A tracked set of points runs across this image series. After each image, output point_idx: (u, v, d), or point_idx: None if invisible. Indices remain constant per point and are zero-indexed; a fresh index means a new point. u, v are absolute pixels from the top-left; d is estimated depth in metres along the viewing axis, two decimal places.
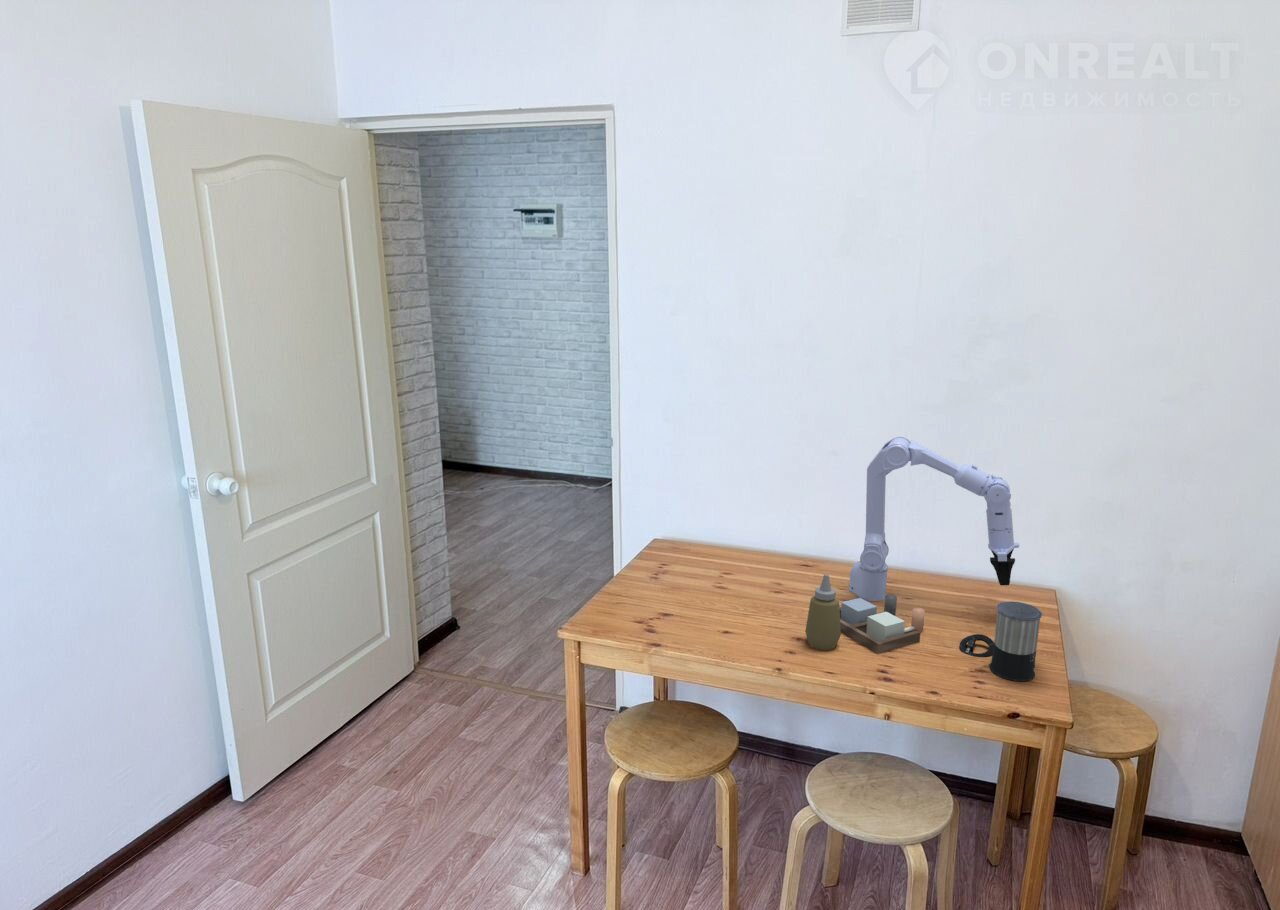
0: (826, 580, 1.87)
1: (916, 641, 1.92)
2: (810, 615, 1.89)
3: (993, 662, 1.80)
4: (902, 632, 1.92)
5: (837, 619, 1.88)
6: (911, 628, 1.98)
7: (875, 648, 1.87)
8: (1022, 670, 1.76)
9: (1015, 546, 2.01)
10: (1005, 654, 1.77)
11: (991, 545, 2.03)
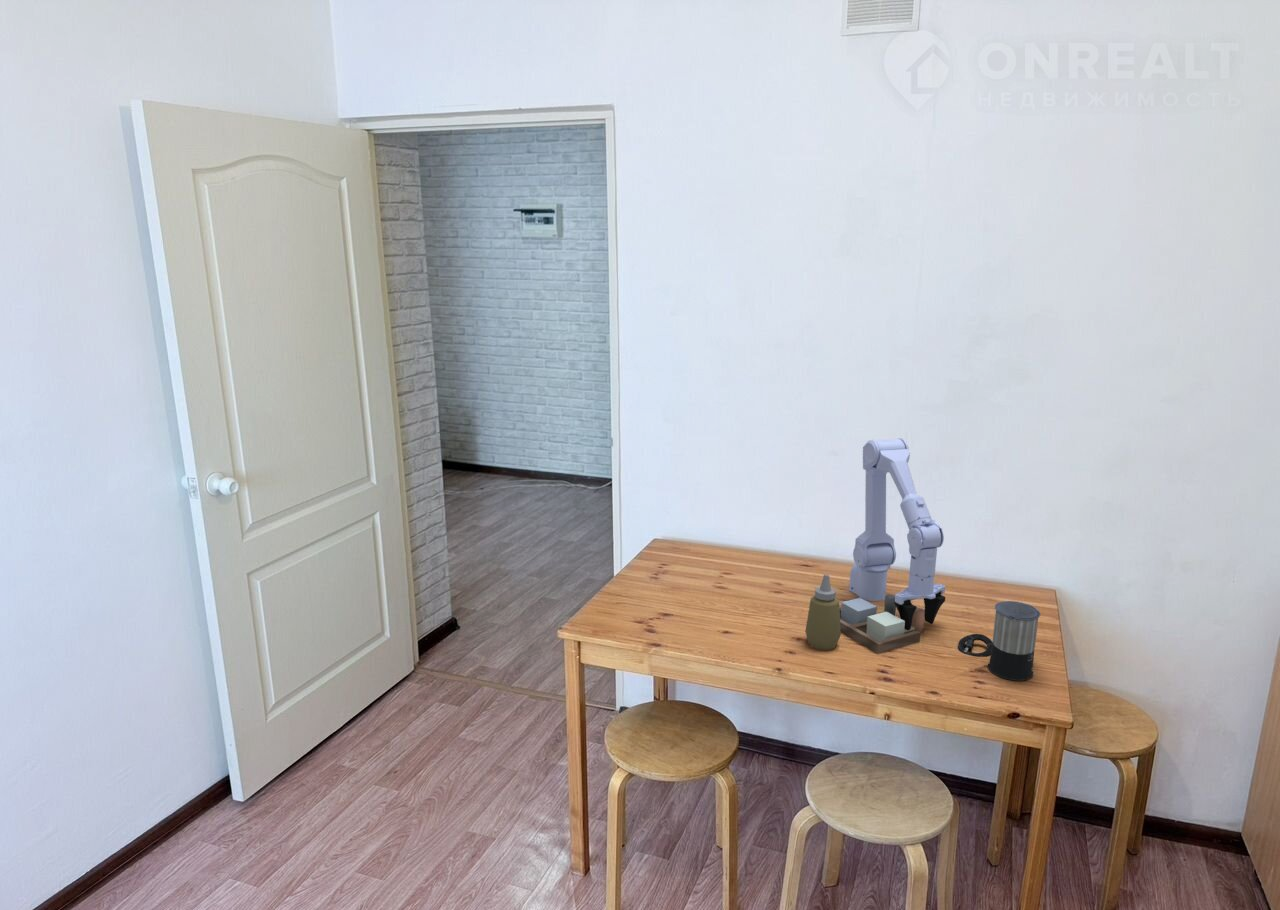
0: (826, 580, 1.87)
1: (916, 641, 1.92)
2: (810, 615, 1.89)
3: (991, 662, 1.81)
4: (902, 632, 1.92)
5: (837, 619, 1.88)
6: (911, 628, 1.98)
7: (875, 648, 1.87)
8: (1020, 670, 1.76)
9: (927, 596, 1.94)
10: (1003, 654, 1.77)
11: (908, 586, 1.98)
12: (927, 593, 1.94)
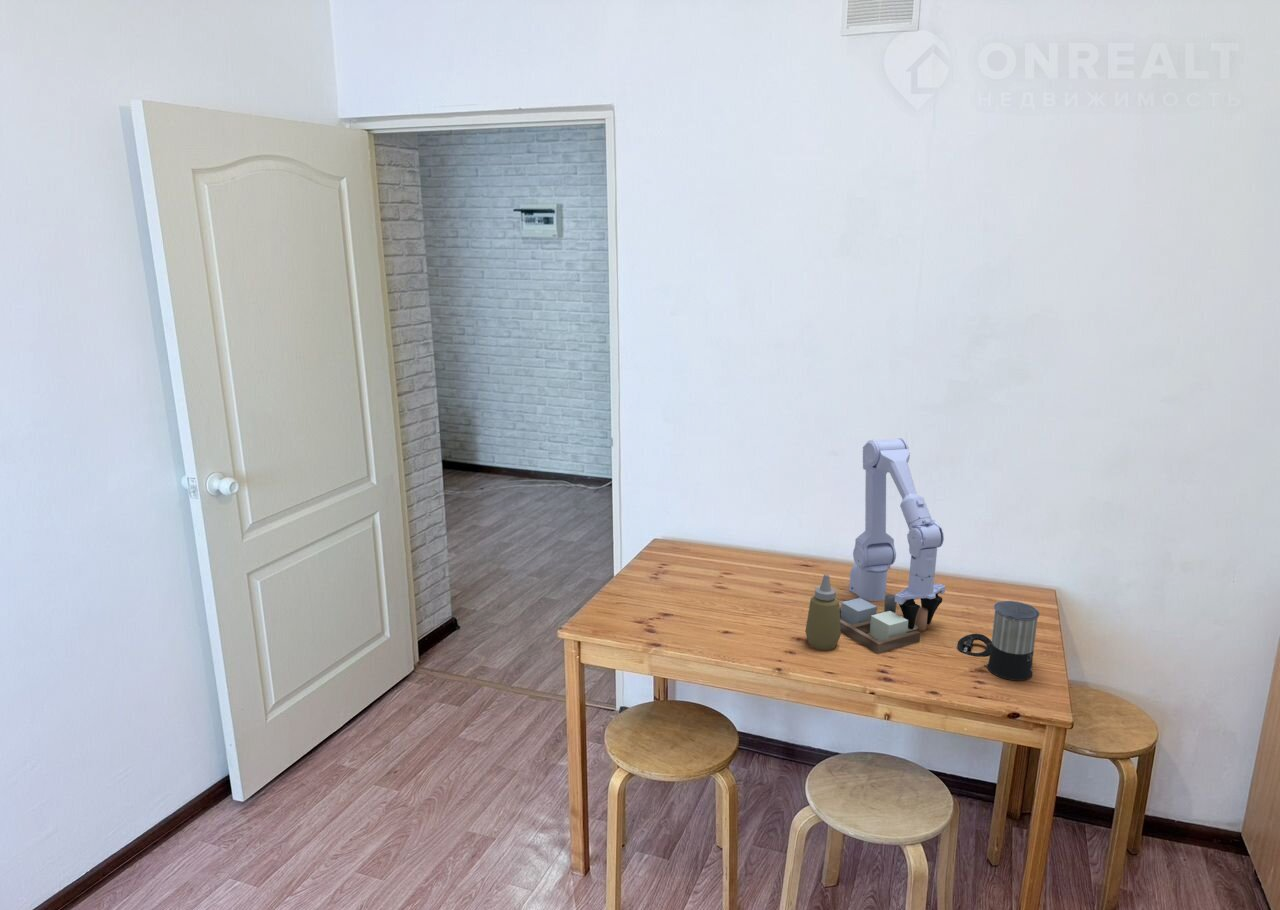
0: (826, 580, 1.87)
1: (916, 641, 1.92)
2: (810, 615, 1.89)
3: (990, 661, 1.81)
4: (905, 631, 1.93)
5: (837, 619, 1.88)
6: (914, 627, 1.98)
7: (875, 648, 1.87)
8: (1019, 670, 1.76)
9: (927, 596, 1.94)
10: (1002, 653, 1.77)
11: (908, 586, 1.98)
12: (927, 593, 1.94)
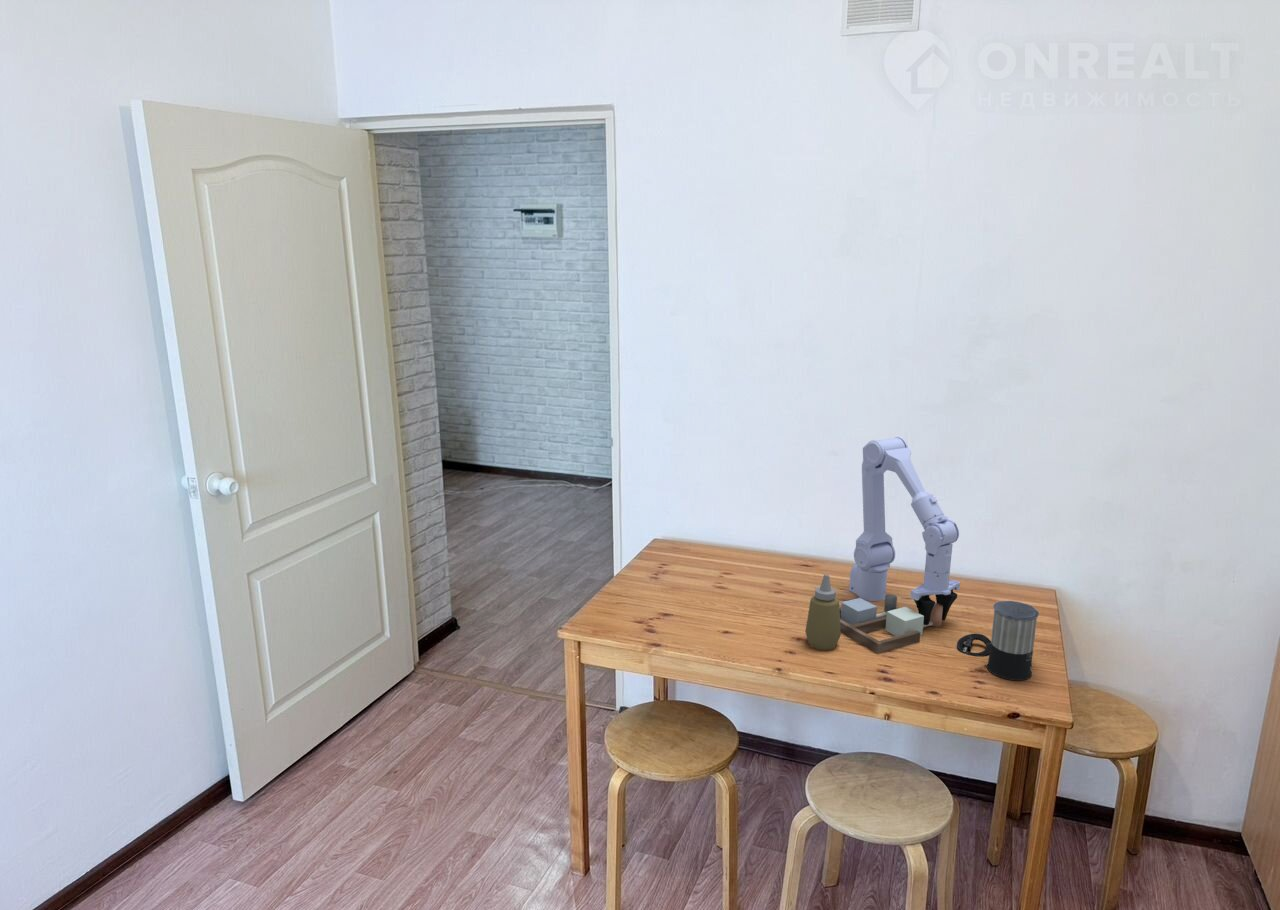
0: (826, 580, 1.87)
1: (916, 641, 1.92)
2: (810, 615, 1.89)
3: (990, 661, 1.81)
4: (921, 627, 1.95)
5: (837, 619, 1.88)
6: (929, 623, 2.00)
7: (875, 648, 1.87)
8: (1018, 670, 1.76)
9: (942, 592, 1.96)
10: (1002, 653, 1.77)
11: (923, 583, 2.00)
12: (942, 589, 1.96)
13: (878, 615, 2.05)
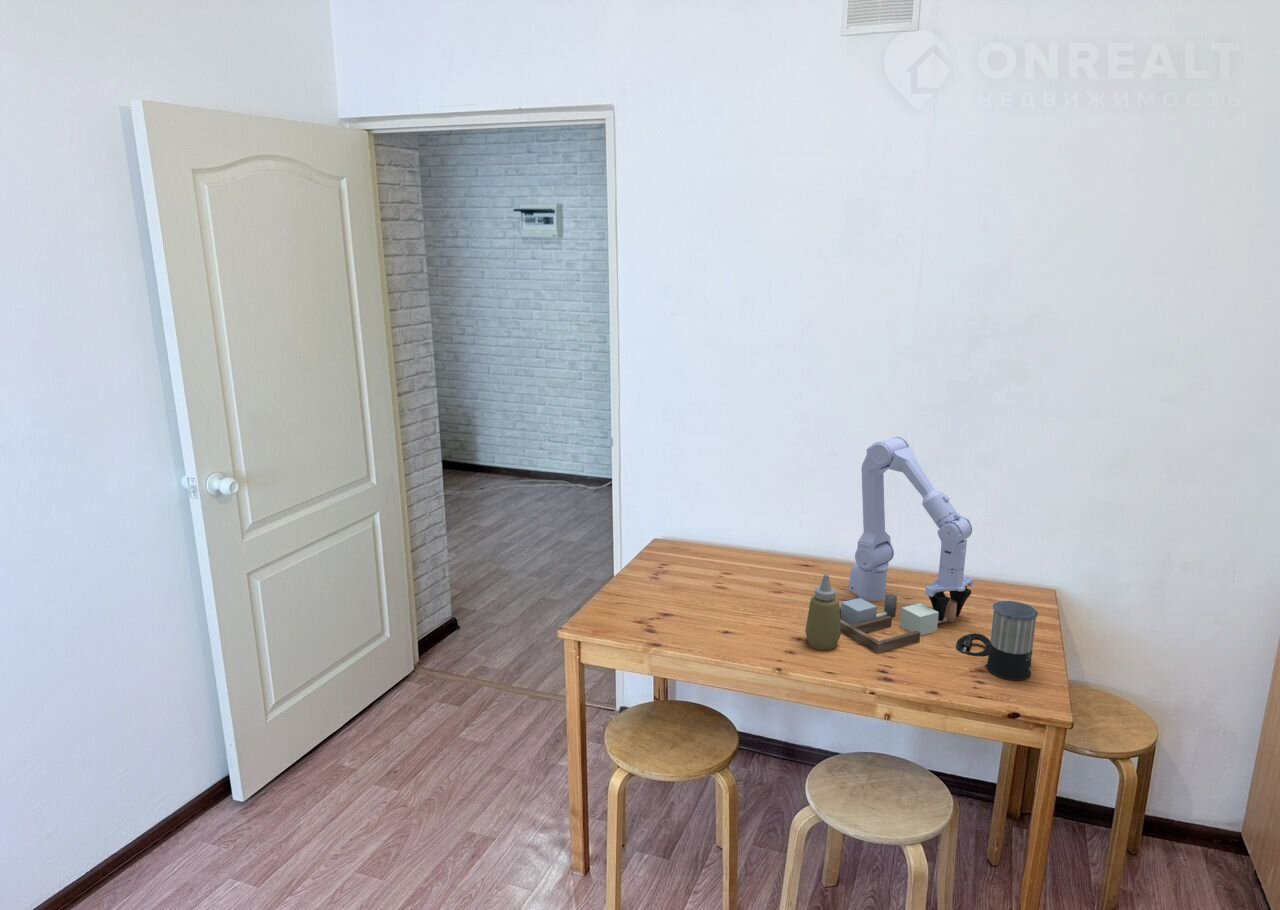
0: (826, 580, 1.87)
1: (916, 641, 1.92)
2: (810, 615, 1.89)
3: (989, 661, 1.81)
4: (936, 623, 1.97)
5: (837, 619, 1.88)
6: (944, 619, 2.02)
7: (875, 648, 1.87)
8: (1018, 669, 1.76)
9: (956, 589, 1.98)
10: (1001, 653, 1.77)
11: (938, 579, 2.02)
12: (957, 585, 1.98)
13: (878, 615, 2.05)
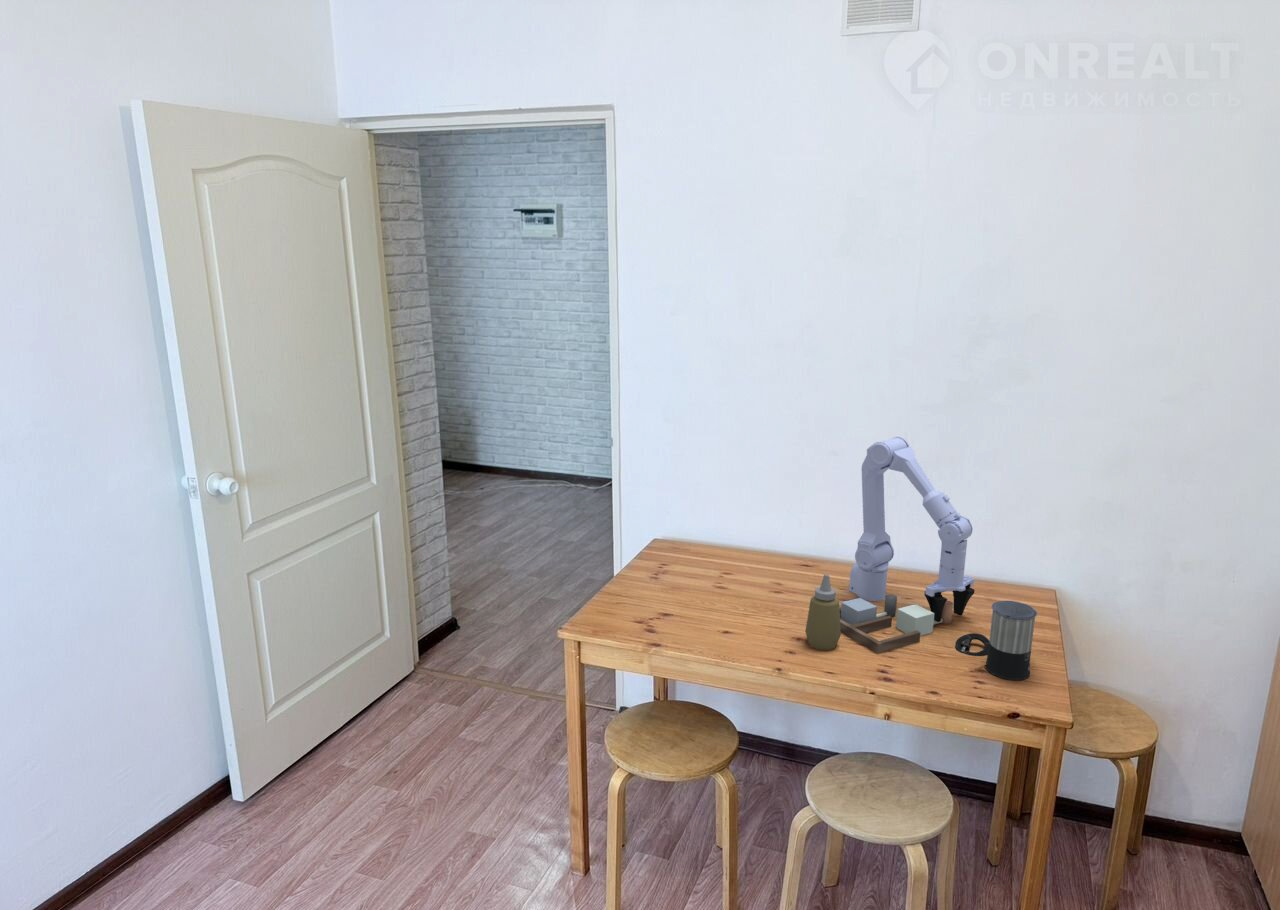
0: (826, 580, 1.87)
1: (916, 641, 1.92)
2: (810, 615, 1.89)
3: (988, 661, 1.81)
4: (931, 624, 1.97)
5: (837, 619, 1.88)
6: None
7: (875, 648, 1.87)
8: (1017, 669, 1.77)
9: (957, 589, 1.98)
10: (1000, 653, 1.77)
11: (938, 579, 2.02)
12: (957, 585, 1.98)
13: (878, 615, 2.05)
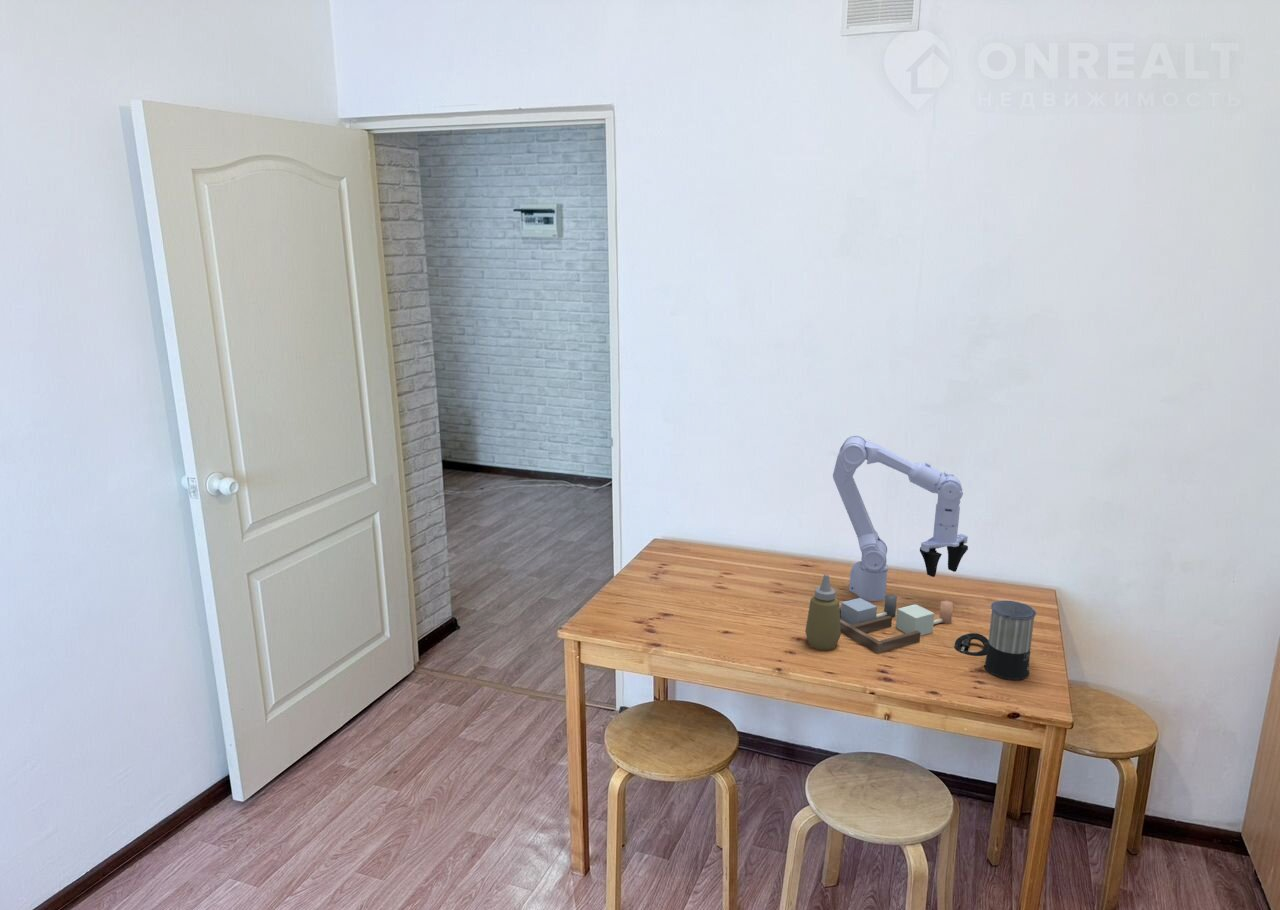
0: (826, 580, 1.87)
1: (916, 641, 1.92)
2: (810, 615, 1.89)
3: (987, 661, 1.81)
4: (931, 624, 1.97)
5: (837, 619, 1.88)
6: (939, 620, 2.02)
7: (875, 648, 1.87)
8: (1016, 669, 1.77)
9: (951, 544, 2.07)
10: (999, 653, 1.77)
11: (933, 536, 2.11)
12: (951, 541, 2.07)
13: (878, 615, 2.05)
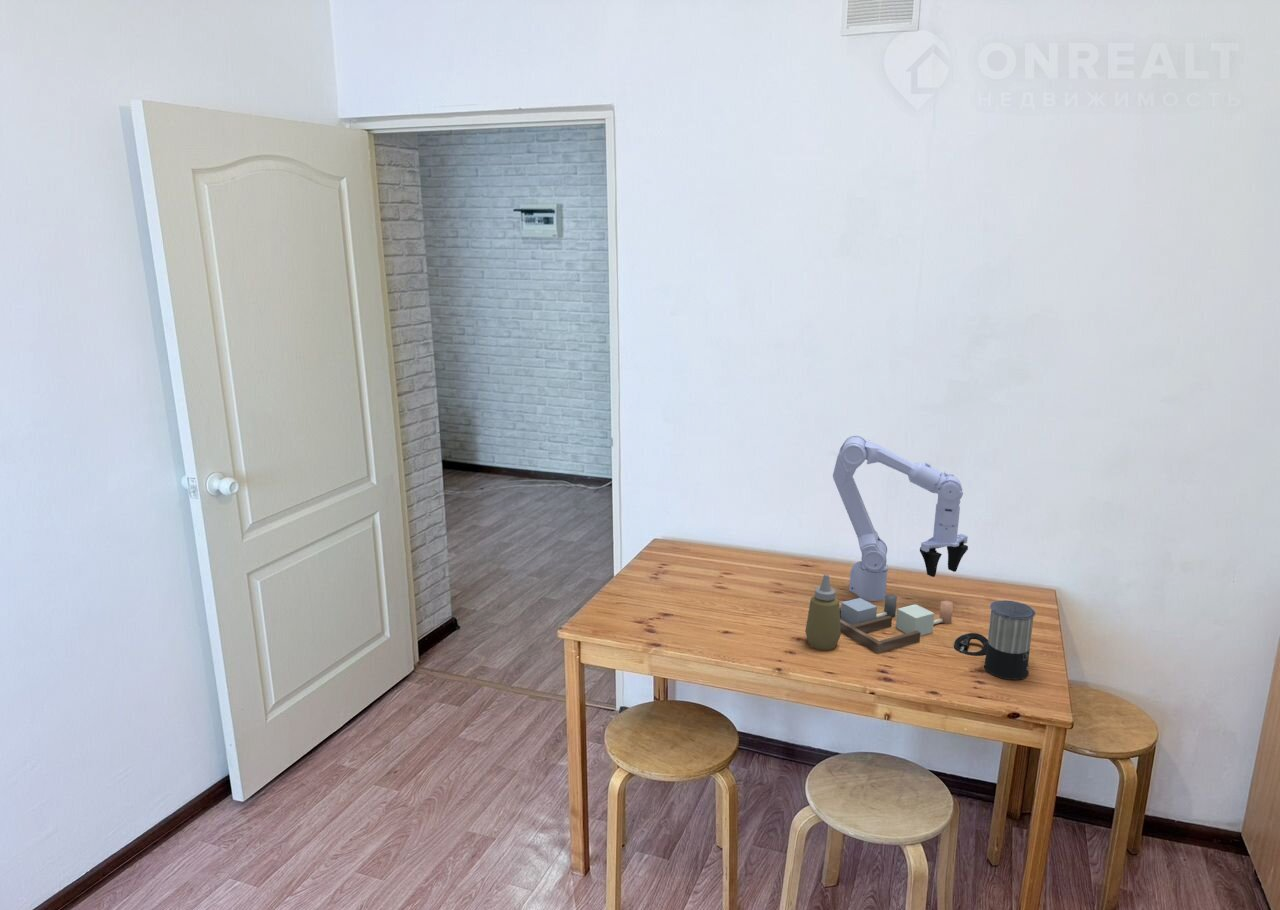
0: (826, 580, 1.87)
1: (916, 641, 1.92)
2: (810, 615, 1.89)
3: (986, 661, 1.81)
4: (931, 624, 1.97)
5: (837, 619, 1.88)
6: (939, 620, 2.02)
7: (875, 648, 1.87)
8: (1015, 669, 1.77)
9: (951, 544, 2.07)
10: (998, 653, 1.77)
11: (933, 536, 2.11)
12: (951, 541, 2.07)
13: (878, 615, 2.05)
